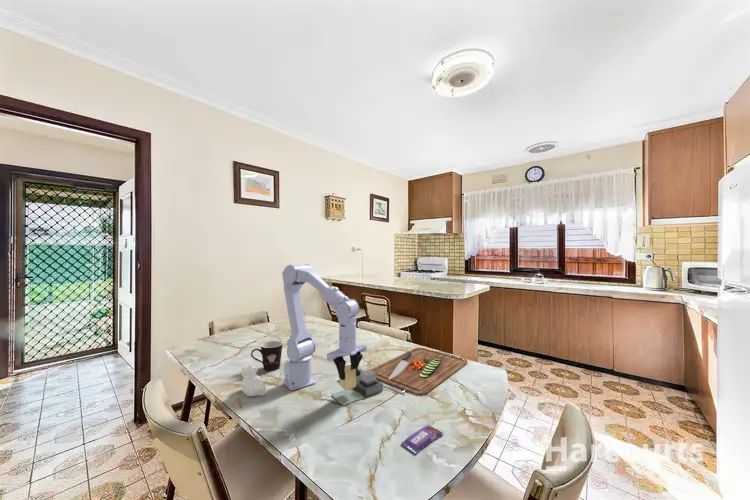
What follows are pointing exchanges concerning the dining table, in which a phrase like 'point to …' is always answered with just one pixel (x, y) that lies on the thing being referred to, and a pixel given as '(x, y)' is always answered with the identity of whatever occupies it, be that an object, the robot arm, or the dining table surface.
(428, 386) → the chopping board
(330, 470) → the dining table surface
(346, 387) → the tan wooden block
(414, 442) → the snack package
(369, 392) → the gray slotted board
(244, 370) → the bust
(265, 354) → the coffee mug
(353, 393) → the mat
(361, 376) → the gray metal block
